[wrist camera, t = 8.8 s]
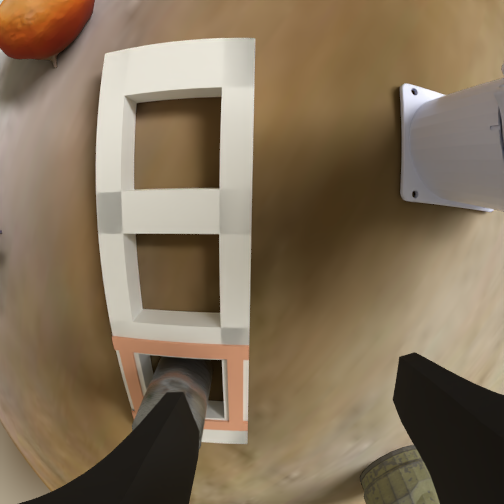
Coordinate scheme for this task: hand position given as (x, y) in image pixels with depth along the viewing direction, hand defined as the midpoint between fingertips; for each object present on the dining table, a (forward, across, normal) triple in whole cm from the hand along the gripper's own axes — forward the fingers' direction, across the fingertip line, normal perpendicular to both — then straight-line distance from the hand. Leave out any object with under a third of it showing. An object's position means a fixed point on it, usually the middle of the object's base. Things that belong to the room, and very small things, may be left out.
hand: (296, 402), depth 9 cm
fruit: (+11, +12, -22) cm, 28 cm away
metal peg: (+10, +7, +5) cm, 14 cm away
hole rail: (+10, +6, -2) cm, 12 cm away
